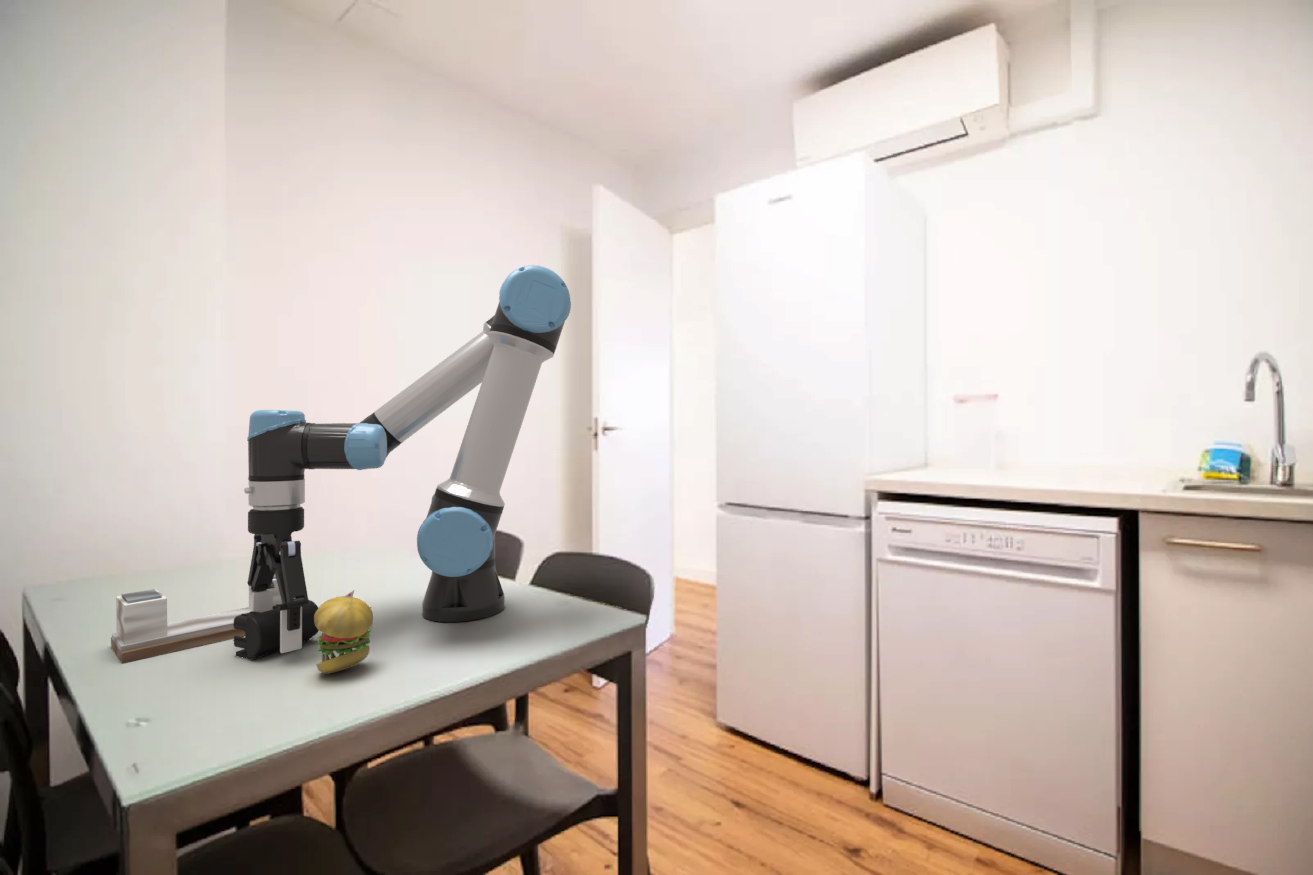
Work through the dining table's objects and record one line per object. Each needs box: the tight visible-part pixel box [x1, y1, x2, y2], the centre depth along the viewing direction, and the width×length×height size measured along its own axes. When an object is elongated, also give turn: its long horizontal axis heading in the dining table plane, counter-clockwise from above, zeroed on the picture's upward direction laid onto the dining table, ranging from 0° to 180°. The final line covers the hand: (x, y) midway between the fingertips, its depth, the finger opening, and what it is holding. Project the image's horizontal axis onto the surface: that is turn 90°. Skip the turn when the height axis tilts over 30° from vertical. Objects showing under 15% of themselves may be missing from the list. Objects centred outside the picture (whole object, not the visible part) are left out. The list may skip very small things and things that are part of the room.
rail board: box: [110, 574, 295, 664], centre depth 99 cm, size 11×24×9 cm, turn 140°
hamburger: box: [314, 589, 374, 674], centre depth 83 cm, size 8×7×12 cm
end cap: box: [232, 599, 320, 660], centre depth 92 cm, size 10×7×7 cm
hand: (275, 640), depth 92 cm, fingers open, 13 cm apart
